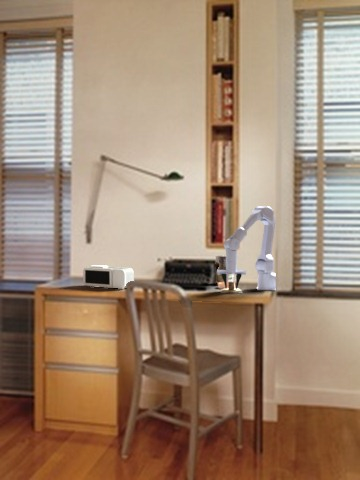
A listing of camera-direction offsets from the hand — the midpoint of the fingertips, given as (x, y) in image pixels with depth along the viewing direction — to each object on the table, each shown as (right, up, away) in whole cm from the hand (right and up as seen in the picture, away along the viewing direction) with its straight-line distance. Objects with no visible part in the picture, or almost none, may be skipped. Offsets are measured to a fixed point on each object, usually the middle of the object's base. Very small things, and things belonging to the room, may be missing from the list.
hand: (231, 288), depth 276 cm
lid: (0, -1, 0) cm, 1 cm away
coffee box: (-1, 0, +31) cm, 31 cm away
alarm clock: (-66, -2, +18) cm, 68 cm away
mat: (0, -2, 0) cm, 2 cm away
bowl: (-2, -1, +12) cm, 12 cm away
